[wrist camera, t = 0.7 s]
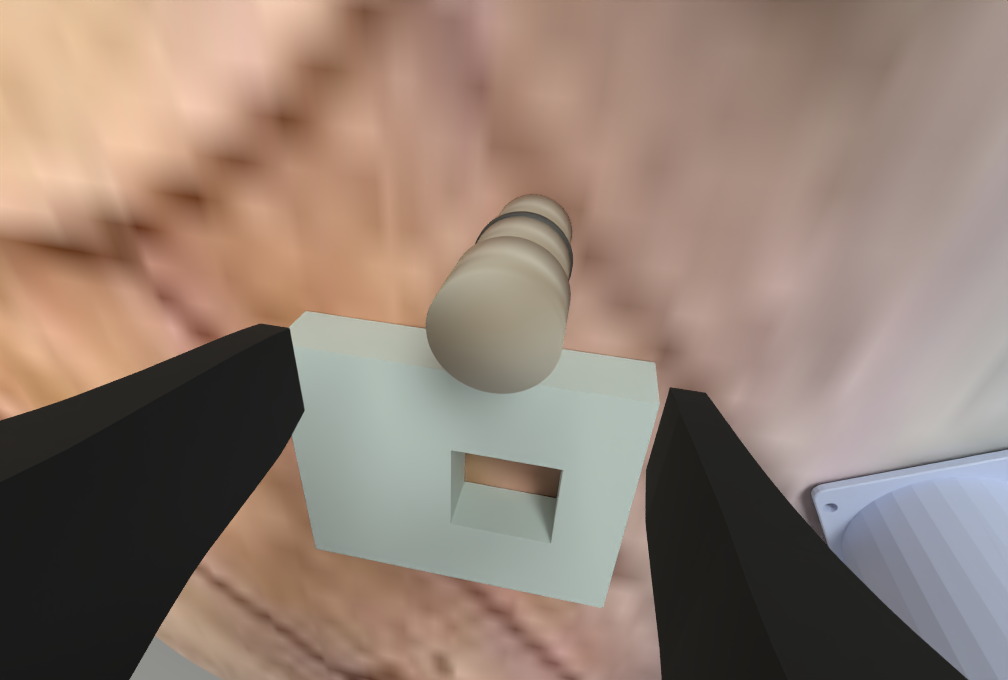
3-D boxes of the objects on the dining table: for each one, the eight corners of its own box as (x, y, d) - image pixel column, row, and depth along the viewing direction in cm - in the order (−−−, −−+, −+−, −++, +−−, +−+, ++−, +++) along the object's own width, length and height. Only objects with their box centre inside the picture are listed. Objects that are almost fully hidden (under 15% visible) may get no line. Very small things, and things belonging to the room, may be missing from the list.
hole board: (655, 362, 20) (659, 404, 18) (604, 560, 26) (602, 608, 24) (306, 311, 21) (272, 343, 19) (338, 508, 28) (316, 548, 26)
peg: (595, 255, 18) (585, 371, 12) (513, 287, 19) (467, 407, 13) (556, 168, 17) (523, 251, 11) (471, 209, 18) (400, 303, 12)
